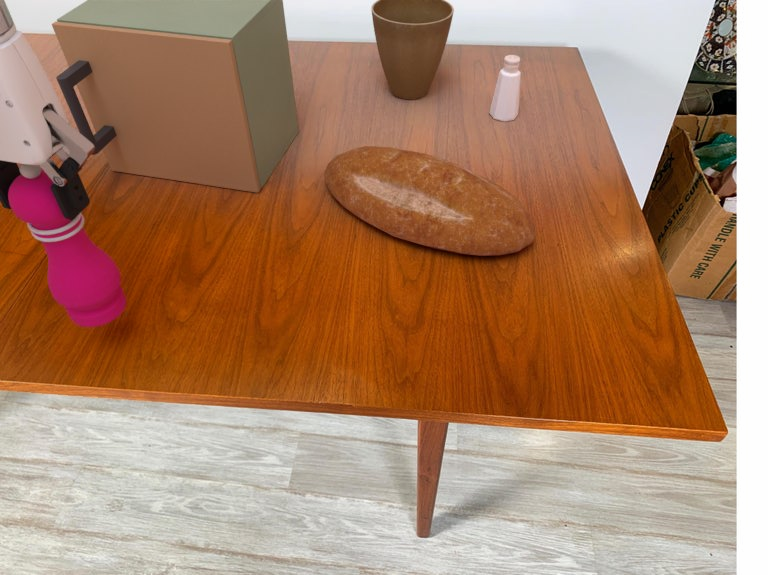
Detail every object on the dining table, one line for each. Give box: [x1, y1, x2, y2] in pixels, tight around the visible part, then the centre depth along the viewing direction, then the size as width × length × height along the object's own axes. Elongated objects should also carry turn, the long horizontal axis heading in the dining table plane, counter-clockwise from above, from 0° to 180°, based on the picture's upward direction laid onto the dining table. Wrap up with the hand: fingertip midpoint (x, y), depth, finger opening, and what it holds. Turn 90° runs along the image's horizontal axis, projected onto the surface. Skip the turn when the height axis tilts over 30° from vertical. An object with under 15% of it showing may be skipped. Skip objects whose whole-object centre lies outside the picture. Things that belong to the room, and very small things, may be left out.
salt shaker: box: [488, 54, 522, 122], centre depth 106 cm, size 5×5×11 cm
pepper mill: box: [8, 163, 127, 328], centre depth 61 cm, size 7×7×20 cm
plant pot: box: [370, 0, 455, 100], centre depth 110 cm, size 15×15×16 cm
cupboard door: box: [51, 21, 262, 194], centre depth 85 cm, size 7×26×24 cm, turn 76°
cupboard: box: [56, 0, 300, 190], centre depth 93 cm, size 18×26×24 cm
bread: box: [323, 145, 536, 257], centre depth 86 cm, size 18×35×9 cm, turn 57°
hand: (47, 204), depth 57 cm, fingers closed on pepper mill, 6 cm apart
